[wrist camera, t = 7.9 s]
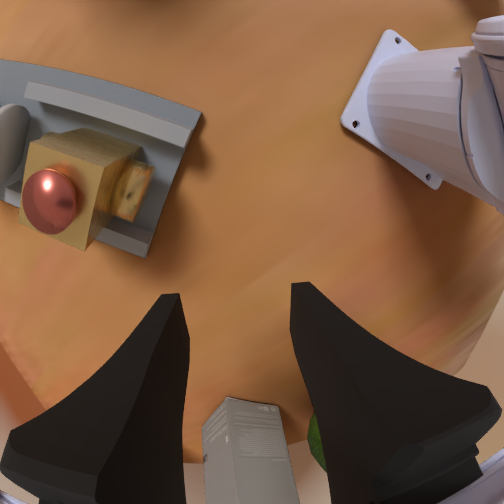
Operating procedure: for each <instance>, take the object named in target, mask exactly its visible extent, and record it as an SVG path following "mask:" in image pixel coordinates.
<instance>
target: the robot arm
mask: <svg viewBox="0 0 504 504" xmlns="http://www.w3.org/2000/svg"><path fill="white" fill-rule="evenodd" d="M395 38H396V39H397V40H398V44H397V43H396V42H395ZM471 39H472V42H473V44H474V46H467V47H453V48H443V49H434V50H426V51H418V50H417V49H416V48H415V47H414V46H412V45H411V44H410V43H409V42H408V41H406V40H405V39H404V38H403V37H401V36H400V35H399V34H397V33H396V32H395V31H393V30H390V29H389V30H386V31H385V32H384V33H383V35H382V37H381V39H380V41H379V43H378V45H377V47H376V49H375V51H374V53H373V55H372V57H371V59H370V61H369V63H368V65H367V67H366V69H365V70H364V72H363V74H362V76H361V78H360V80H359V82H358V84H357V86H356V88H355V90H354V92H353V94H352V96H351V98H350V100H349V102H348V104H347V106H346V107H345V109H344V111H343V113H342V115H341V118H340V122H341V124H342V125H343V126H344V127H345V128H347V129H349V130H350V131H352V132H353V133H355V134H357V135H358V136H360V137H361V138H363V139H364V140H366V141H367V142H369V143H370V144H372V145H373V146H375V147H376V148H378V149H379V150H381V151H382V152H384V153H385V154H387V155H388V156H389V157H391V158H392V159H394V160H395V161H396V162H398V163H399V164H401V165H402V166H403V167H405V168H406V169H407V170H409V171H410V172H411V173H413V174H414V175H415V176H417V177H418V178H419V179H420V180H422V181H423V182H424V183H425V184H427V185H428V186H429V187H430V188H432V189H434V190H436V189H438V188H439V187H440V185H441V183H442V181H443V180H444V181H446V182H448V183H450V184H452V185H454V186H456V187H458V188H460V189H462V190H464V191H466V192H468V193H470V194H471V195H473V196H475V197H477V198H479V199H481V200H482V201H484V202H486V203H488V204H490V205H492V206H494V207H496V209H497V211H498V212H500V213H501V214H503V215H504V15H500V16H495V17H490V18H486V19H482V20H480V21H478V23H477V26H476V29H475V32H474V33H472V35H471ZM354 121H356V122H357V127H356V128H354V127H353V125H352V124H353V122H354ZM427 174H428V177H427V179H426V175H427ZM290 333H291V338H292V343H293V347H294V352H295V356H296V359H297V361H298V364H299V367H300V370H301V373H302V376H303V379H304V382H305V385H306V387H307V390H308V393H309V396H310V399H311V402H312V405H313V408H314V412H315V415H316V419H317V424H318V428H319V433H320V437H321V442H322V448H323V453H324V458H325V463H326V469H327V476H328V482H329V488H330V496H331V503H332V504H504V448H502V449H501V450H500V451H498V452H497V453H495V454H494V455H493V456H491V457H490V458H488V459H487V460H485V461H484V462H482V463H481V464H479V465H478V462H477V460H476V458H475V456H476V455H477V454H479V450H478V448H477V446H476V443H477V441H479V440H480V439H481V438H482V437H483V436H484V435H485V434H486V433H487V432H488V431H489V430H490V429H491V428H492V427H493V426H494V424H495V423H496V422H497V421H498V419H499V418H500V416H501V412H502V409H501V407H500V405H499V404H498V402H497V401H496V399H495V398H494V396H493V394H492V393H491V391H490V390H489V389H488V387H487V386H484V385H480V384H477V383H473V382H470V381H466V380H463V379H459V378H456V377H453V376H451V375H448V374H446V373H443V372H440V371H438V370H435V369H433V368H431V367H428V366H426V365H424V364H422V363H420V362H418V361H416V360H414V359H412V358H410V357H408V356H406V355H404V354H402V353H401V352H399V351H397V350H395V349H394V348H392V347H390V346H389V345H387V344H386V343H384V342H382V341H381V340H379V339H378V338H376V337H375V336H373V335H372V334H370V333H369V332H368V331H366V330H365V329H364V328H362V327H361V326H360V325H358V324H357V323H356V322H355V321H353V320H352V319H351V318H350V317H348V316H347V315H346V314H345V313H344V312H342V311H341V310H340V309H339V308H338V307H337V306H336V305H334V304H333V303H332V302H331V301H330V300H329V299H328V298H327V297H326V296H325V295H323V294H322V293H321V292H320V291H319V290H318V289H317V288H316V287H315V286H314V285H313V284H311V283H310V282H300V283H291V310H290ZM189 362H190V337H189V333H188V329H187V325H186V321H185V316H184V312H183V308H182V303H181V299H180V294H179V293H174V294H162V295H161V296H160V297H159V298H158V299H157V301H156V302H155V303H154V305H153V306H152V307H151V309H150V310H149V311H148V313H147V314H146V315H145V317H144V318H143V319H142V321H141V322H140V323H139V324H138V326H137V327H136V328H135V329H134V331H133V332H132V333H131V335H130V336H129V337H128V338H127V339H126V341H125V342H124V343H123V344H122V345H121V346H120V348H119V349H118V350H117V351H116V352H115V353H114V354H113V356H112V357H111V358H110V359H109V360H108V361H107V362H106V363H105V364H104V365H103V366H102V367H101V368H100V369H99V370H98V371H97V372H96V373H94V374H93V375H92V376H91V377H90V378H89V379H88V380H87V381H85V382H84V383H83V384H82V385H81V386H79V387H78V388H77V389H76V390H74V391H73V392H72V393H71V394H70V395H68V396H67V397H66V398H64V399H63V400H62V401H60V402H59V403H57V404H56V405H54V406H53V407H51V408H50V409H48V410H47V411H45V412H44V413H42V414H41V415H39V416H37V417H36V418H34V419H32V420H30V421H28V422H26V423H24V424H23V425H21V426H19V427H17V428H15V429H13V430H11V431H10V434H9V437H8V440H7V443H6V446H5V449H4V452H3V456H2V458H1V462H0V471H1V473H2V474H3V475H4V476H5V477H7V478H8V479H9V480H11V481H12V482H14V483H15V484H17V485H18V486H20V487H21V488H23V489H24V490H26V491H28V492H30V493H31V494H33V495H34V496H36V497H38V498H39V504H186V496H185V484H184V471H183V449H182V424H183V412H184V403H185V395H186V387H187V379H188V371H189ZM0 504H28V503H26V502H24V501H21V500H19V499H17V498H15V497H13V496H11V495H9V494H7V493H5V492H3V491H1V490H0Z"/></svg>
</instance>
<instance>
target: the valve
mask: <svg viewBox="0 0 504 504" xmlns="http://www.w3.org/2000/svg"><path fill="white" fill-rule="evenodd" d="M141 147H142V146H139V145H137V144H134V143H131V142H128V141H125V140H122V139H119V138H116V137H113V136H110V135H108V134H105V133H101V132H98V131H95V130H92V129H89V128H86V127H84V128H79V129H75V130H71V131H67V132H63V133H56V132H52V131H50V132H47V133H46V134H44V135H43V136H42V137H41V138H40V139H38V140H35V141H32V142H30V145H29V149H28V154H27V160H26V165H25V171H24V178H23V185H22V192H21V201H20V211H19V223H20V224H22V225H24V226H26V227H29V228H31V229H33V230H35V231H38V232H40V233H42V234H45V235H47V236H49V237H51V238H54V239H56V240H59V241H61V242H63V243H66V244H68V245H70V246H73V247H75V248H78V249H80V250H83V251H86V249H87V248H88V247H89V245H90V244H91V243H92V242H93V240H94V239H95V238H96V237H97V236H98V234H99V233H100V232H101V231H102V229H103V228H104V227H105V226H106V225H107V224H108V222H109V221H110V220H111V219H112V218H113V217H114V216H117V217H119V218H122V219H125V220H127V221H130V222H132V223H134V222H135V221H136V219H137V217H138V216H139V214H140V212H141V209H142V207H143V205H144V202H145V200H146V197H147V195H148V192H149V189H150V187H151V184H152V181H153V177H154V173H155V167H154V166H151V165H149V164H146V163H143V162H141V161H138V160H137V158H138V156H139V153H140V150H141Z"/></svg>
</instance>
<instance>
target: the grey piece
mask: <svg viewBox="0 0 504 504" xmlns="http://www.w3.org/2000/svg"><path fill="white" fill-rule="evenodd" d="M201 113H202V112H200V111H197V110H195V109H192V108H189V107H187V106H184V105H181V104H178V103H176V102H173V101H170V100H167V99H164V98H161V97H158V96H155V95H152V94H149V93H146V92H143V91H140V90H137V89H134V88H130V87H127V86H124V85H120V84H117V83H113V82H110V81H106V80H102V79H99V78H95V77H91V76H87V75H83V74H79V73H74V72H70V71H65V70H61V69H56V68H51V67H46V66H41V65H35V64H29V63H23V62H16V61H9V60H1V59H0V200H3V201H5V202H7V203H9V204H12V205H14V206H16V207H18V208H20V201H21V192H22V185H23V178H24V171H25V165H26V160H27V154H28V149H29V145H30V142H32V141H35V140H38V139H40V138H41V137H42V136H43V135H44V134H46V133H47V132H50V131H52V132H56V133H63V132H67V131H71V130H75V129H79V128H84V127H86V128H89V129H92V130H95V131H98V132H101V133H105V134H108V135H110V136H113V137H116V138H119V139H122V140H125V141H128V142H131V143H134V144H137V145H139V146H142V147H141V150H140V153H139V156H138V158H137V160H138V161H141V162H143V163H146V164H149V165H151V166H154V167H155V173H154V177H153V181H152V184H151V187H150V189H149V192H148V195H147V197H146V200H145V202H144V205H143V207H142V209H141V212H140V214H139V216H138V217H137V219H136V221H135V222H134V223H132V222H130V221H127V220H125V219H122V218H119V217H117V216H114V217H113V218H112V219H111V220H110V221H109V222H108V224H107V225H106V226H105V227H104V228H103V229H102V231H101V232H100V233H99V234H98V236H97V237H96V238H95V240H98V241H101V242H103V243H106V244H108V245H111V246H113V247H116V248H119V249H121V250H124V251H126V252H129V253H132V254H134V255H137V256H140V257H142V258H146V256H147V253H148V250H149V247H150V244H151V241H152V238H153V235H154V232H155V229H156V226H157V223H158V220H159V217H160V215H161V212H162V209H163V206H164V203H165V201H166V198H167V195H168V193H169V190H170V187H171V185H172V182H173V180H174V177H175V174H176V172H177V169H178V167H179V164H180V162H181V159H182V157H183V155H184V152H185V150H186V147H187V145H188V143H189V140H190V138H191V136H192V133H193V131H194V129H195V127H196V124H197V122H198V120H199V118H200V115H201Z"/></svg>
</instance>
